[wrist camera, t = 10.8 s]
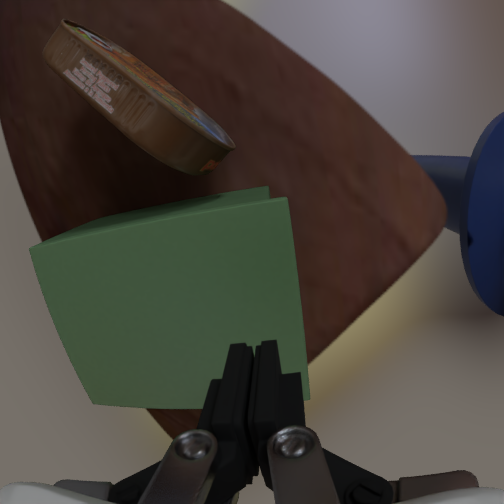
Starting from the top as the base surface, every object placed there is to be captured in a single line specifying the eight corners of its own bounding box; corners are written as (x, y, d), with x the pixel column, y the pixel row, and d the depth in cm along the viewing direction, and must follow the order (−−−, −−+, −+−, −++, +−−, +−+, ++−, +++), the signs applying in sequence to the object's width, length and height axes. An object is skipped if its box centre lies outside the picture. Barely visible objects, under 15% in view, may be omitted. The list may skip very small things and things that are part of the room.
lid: (286, 196, 14) (287, 198, 13) (309, 391, 17) (310, 400, 16) (36, 244, 15) (28, 248, 14) (97, 397, 18) (92, 404, 17)
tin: (244, 147, 21) (229, 138, 13) (213, 180, 21) (181, 192, 13) (108, 36, 18) (49, 0, 10) (83, 66, 19) (18, 42, 11)
